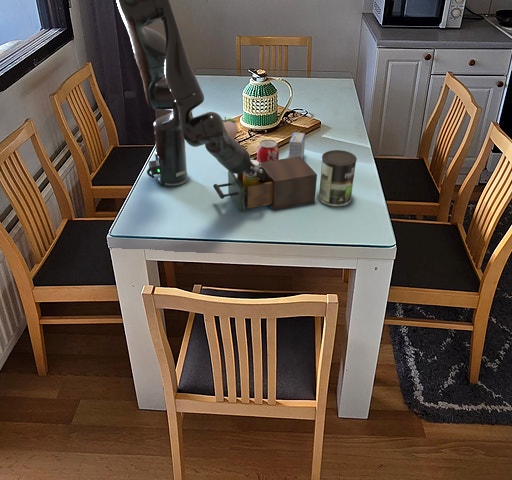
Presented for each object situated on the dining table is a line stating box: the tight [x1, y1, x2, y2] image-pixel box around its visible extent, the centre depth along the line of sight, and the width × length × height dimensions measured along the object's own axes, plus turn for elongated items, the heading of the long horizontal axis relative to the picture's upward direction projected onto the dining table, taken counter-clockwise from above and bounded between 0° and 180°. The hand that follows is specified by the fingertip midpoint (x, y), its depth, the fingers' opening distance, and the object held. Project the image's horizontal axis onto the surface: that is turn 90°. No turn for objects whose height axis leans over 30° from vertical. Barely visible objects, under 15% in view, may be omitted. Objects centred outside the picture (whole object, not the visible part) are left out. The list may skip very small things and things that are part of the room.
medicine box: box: [288, 132, 306, 160], centre depth 197 cm, size 8×4×9 cm, turn 168°
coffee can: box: [318, 149, 358, 207], centre depth 175 cm, size 10×10×14 cm
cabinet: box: [259, 156, 318, 211], centre depth 177 cm, size 14×13×10 cm
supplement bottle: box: [243, 159, 261, 195], centre depth 171 cm, size 5×5×10 cm
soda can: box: [256, 139, 280, 163], centre depth 186 cm, size 7×7×12 cm
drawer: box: [213, 170, 273, 213], centre depth 173 cm, size 18×12×8 cm, turn 110°
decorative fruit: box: [222, 116, 239, 140], centre depth 207 cm, size 9×8×10 cm
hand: (255, 177), depth 173 cm, fingers closed on supplement bottle, 5 cm apart
